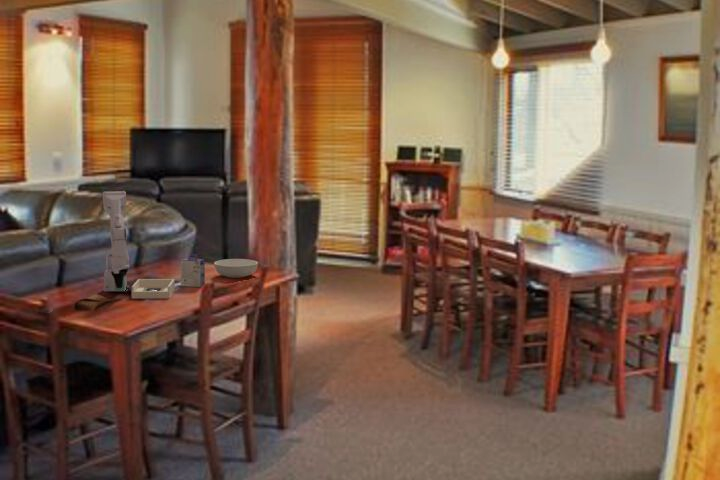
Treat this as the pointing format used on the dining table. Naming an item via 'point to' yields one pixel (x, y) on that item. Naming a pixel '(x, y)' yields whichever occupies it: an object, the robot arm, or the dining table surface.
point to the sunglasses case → (91, 302)
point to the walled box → (161, 285)
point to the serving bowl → (236, 267)
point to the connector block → (122, 285)
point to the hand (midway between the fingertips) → (120, 286)
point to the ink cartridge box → (193, 272)
